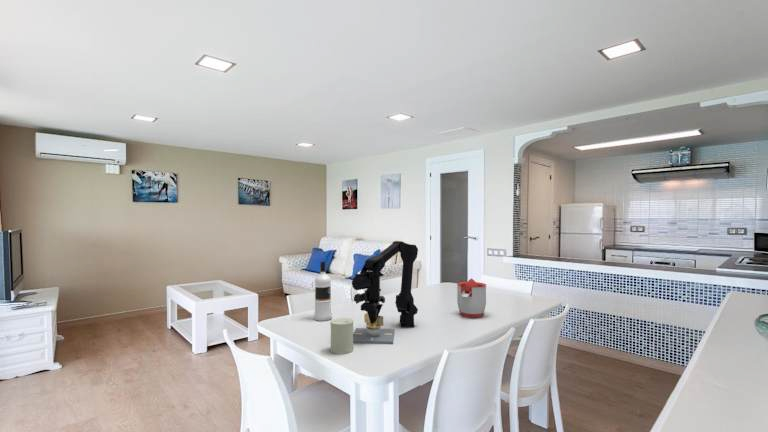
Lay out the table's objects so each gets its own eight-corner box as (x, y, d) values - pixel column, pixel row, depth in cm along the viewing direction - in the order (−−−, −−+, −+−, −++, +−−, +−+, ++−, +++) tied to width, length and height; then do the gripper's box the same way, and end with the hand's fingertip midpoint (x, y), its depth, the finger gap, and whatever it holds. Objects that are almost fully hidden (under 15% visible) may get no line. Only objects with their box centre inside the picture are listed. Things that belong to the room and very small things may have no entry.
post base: (394, 330, 171) (394, 322, 172) (392, 344, 154) (392, 334, 154) (356, 330, 173) (356, 321, 173) (350, 343, 155) (350, 333, 155)
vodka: (313, 317, 195) (313, 260, 196) (331, 316, 197) (331, 260, 198) (314, 322, 186) (314, 262, 187) (332, 320, 188) (332, 262, 189)
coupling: (371, 323, 169) (371, 312, 169) (386, 327, 162) (386, 315, 162) (361, 326, 164) (361, 314, 164) (376, 330, 157) (376, 318, 158)
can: (343, 355, 140) (343, 324, 141) (325, 351, 145) (325, 320, 145) (358, 348, 148) (358, 318, 148) (340, 344, 153) (340, 315, 153)
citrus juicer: (450, 317, 195) (450, 279, 195) (463, 310, 209) (463, 275, 210) (479, 322, 186) (479, 282, 186) (490, 314, 200) (490, 277, 201)
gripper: (362, 282, 174) (362, 316, 174) (349, 290, 156) (349, 327, 156) (385, 283, 172) (385, 317, 171) (374, 291, 153) (374, 329, 153)
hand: (373, 322), depth 163 cm, fingers closed on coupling, 4 cm apart
